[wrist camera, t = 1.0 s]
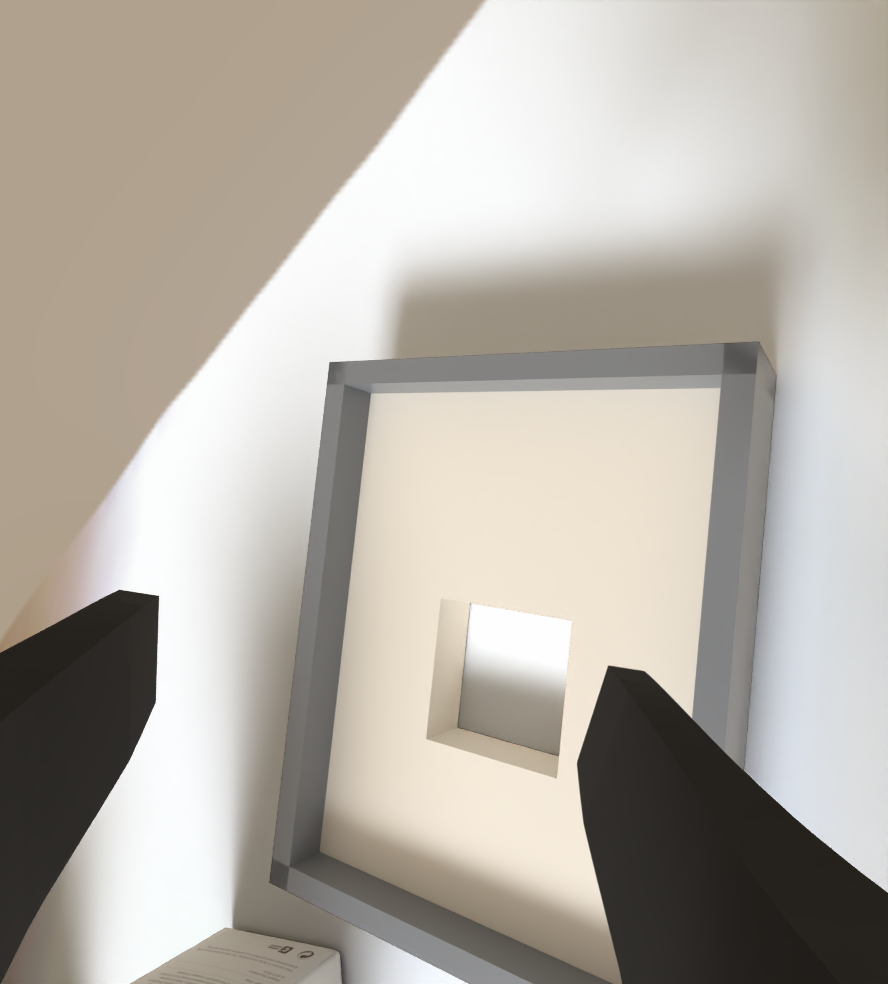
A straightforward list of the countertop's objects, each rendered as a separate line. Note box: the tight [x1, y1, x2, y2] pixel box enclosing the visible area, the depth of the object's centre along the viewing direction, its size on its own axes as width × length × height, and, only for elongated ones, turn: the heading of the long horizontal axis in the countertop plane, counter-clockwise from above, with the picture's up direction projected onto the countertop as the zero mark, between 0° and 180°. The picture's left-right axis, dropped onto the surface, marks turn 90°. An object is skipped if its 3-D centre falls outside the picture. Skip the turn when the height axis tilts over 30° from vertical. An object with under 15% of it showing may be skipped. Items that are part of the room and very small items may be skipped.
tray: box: [269, 342, 777, 984], centre depth 22 cm, size 14×18×4 cm
